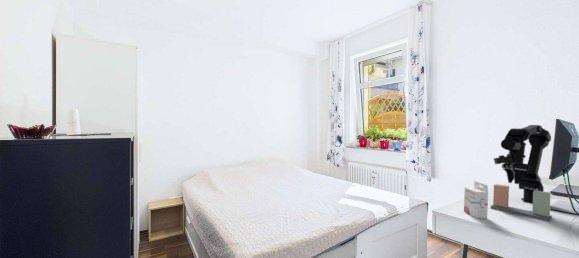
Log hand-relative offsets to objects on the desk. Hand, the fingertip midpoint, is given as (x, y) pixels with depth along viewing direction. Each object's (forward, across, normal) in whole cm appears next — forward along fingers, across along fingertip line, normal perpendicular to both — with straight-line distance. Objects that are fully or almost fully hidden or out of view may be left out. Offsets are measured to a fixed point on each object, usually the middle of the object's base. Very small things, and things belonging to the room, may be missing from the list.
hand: (512, 183), depth 123 cm
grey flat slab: (+13, +8, +2) cm, 15 cm away
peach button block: (+12, +4, -5) cm, 13 cm away
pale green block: (+11, +10, +8) cm, 17 cm away
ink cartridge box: (+18, +22, -17) cm, 33 cm away
